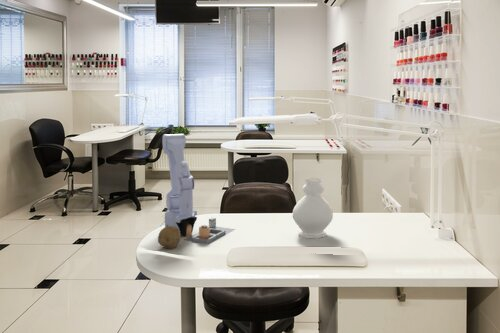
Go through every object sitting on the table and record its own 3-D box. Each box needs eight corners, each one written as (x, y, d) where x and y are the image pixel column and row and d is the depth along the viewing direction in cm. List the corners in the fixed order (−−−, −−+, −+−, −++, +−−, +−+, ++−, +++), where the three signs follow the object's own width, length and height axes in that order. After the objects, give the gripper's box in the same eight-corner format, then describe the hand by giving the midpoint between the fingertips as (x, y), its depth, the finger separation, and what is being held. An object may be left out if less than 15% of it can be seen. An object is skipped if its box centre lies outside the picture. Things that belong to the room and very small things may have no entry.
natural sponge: (167, 255, 208) (166, 230, 206) (153, 250, 214) (153, 226, 212) (185, 249, 214) (184, 226, 212) (171, 245, 220) (170, 222, 218)
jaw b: (179, 238, 229) (179, 224, 228) (185, 235, 233) (184, 222, 232) (188, 239, 227) (187, 226, 226) (193, 237, 231) (193, 223, 230)
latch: (208, 227, 242) (208, 219, 241) (212, 225, 244) (212, 217, 244) (212, 228, 241) (212, 219, 240) (215, 226, 244) (215, 218, 243)
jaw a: (197, 240, 222) (197, 226, 221) (202, 237, 226) (202, 224, 225) (206, 242, 220) (206, 227, 219) (211, 239, 224) (211, 225, 223)
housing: (183, 242, 223) (183, 235, 223) (211, 228, 245) (211, 221, 244) (208, 246, 218) (208, 239, 218) (235, 231, 239) (235, 224, 239)
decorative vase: (330, 241, 226) (332, 184, 222) (289, 238, 230) (290, 182, 225) (333, 229, 243) (335, 176, 239) (295, 227, 247) (296, 175, 242)
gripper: (184, 209, 220) (185, 240, 222) (202, 201, 233) (203, 231, 235) (170, 207, 223) (171, 238, 225) (189, 200, 236) (189, 229, 238)
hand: (186, 234), depth 230 cm, fingers closed on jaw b, 4 cm apart
